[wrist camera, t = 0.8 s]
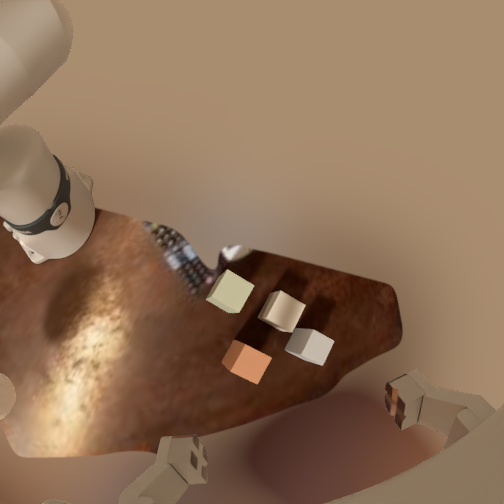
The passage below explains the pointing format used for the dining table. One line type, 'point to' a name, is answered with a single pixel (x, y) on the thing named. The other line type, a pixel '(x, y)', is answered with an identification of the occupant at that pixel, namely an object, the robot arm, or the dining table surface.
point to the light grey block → (309, 345)
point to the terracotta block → (246, 361)
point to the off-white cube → (281, 311)
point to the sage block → (230, 292)
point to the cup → (6, 395)
